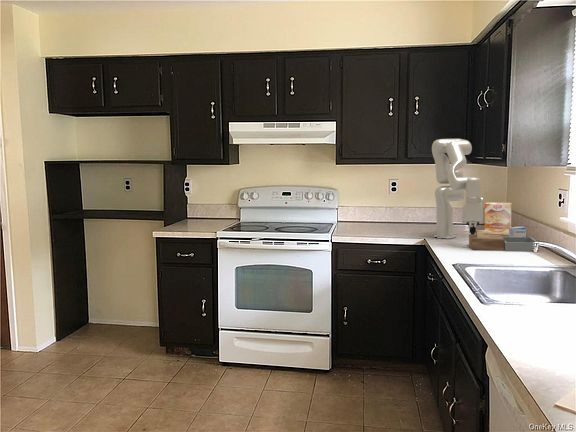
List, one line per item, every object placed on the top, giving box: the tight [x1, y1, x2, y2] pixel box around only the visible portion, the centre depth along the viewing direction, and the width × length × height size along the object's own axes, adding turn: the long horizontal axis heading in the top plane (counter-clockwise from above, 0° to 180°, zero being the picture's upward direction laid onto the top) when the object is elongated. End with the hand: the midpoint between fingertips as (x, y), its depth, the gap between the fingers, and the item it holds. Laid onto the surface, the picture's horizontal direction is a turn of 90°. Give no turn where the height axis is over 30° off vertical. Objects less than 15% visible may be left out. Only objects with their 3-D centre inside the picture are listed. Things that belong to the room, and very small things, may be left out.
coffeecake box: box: [484, 202, 513, 236], centre depth 312 cm, size 15×7×20 cm, turn 62°
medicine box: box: [508, 226, 527, 237], centre depth 281 cm, size 8×4×9 cm, turn 105°
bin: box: [502, 236, 540, 253], centre depth 264 cm, size 18×16×4 cm
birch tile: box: [475, 229, 489, 238], centre depth 268 cm, size 6×6×3 cm
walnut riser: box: [468, 233, 505, 252], centre depth 268 cm, size 16×16×6 cm
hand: (472, 234), depth 269 cm, fingers closed
